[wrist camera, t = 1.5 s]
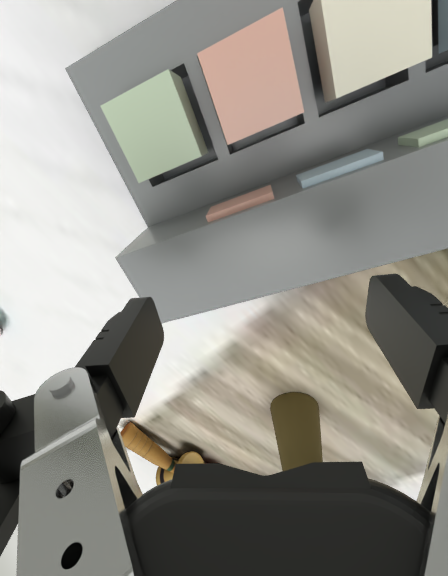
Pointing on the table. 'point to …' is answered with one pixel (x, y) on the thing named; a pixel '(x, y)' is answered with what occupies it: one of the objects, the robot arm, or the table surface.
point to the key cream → (368, 40)
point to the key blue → (440, 24)
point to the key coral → (253, 78)
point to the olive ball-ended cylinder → (297, 429)
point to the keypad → (274, 168)
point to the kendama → (155, 453)
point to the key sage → (155, 126)
